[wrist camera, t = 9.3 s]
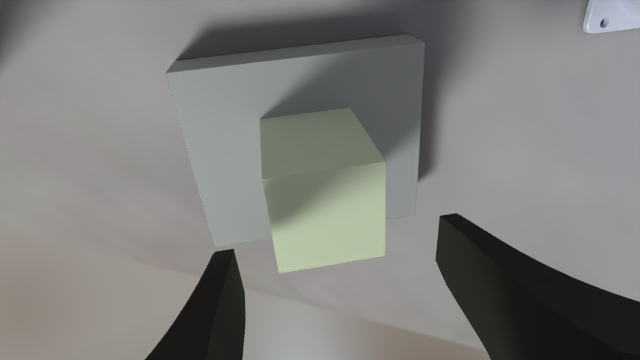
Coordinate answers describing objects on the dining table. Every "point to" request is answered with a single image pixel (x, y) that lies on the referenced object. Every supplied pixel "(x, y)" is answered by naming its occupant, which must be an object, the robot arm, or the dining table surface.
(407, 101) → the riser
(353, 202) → the green block
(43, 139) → the dining table surface
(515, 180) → the dining table surface
